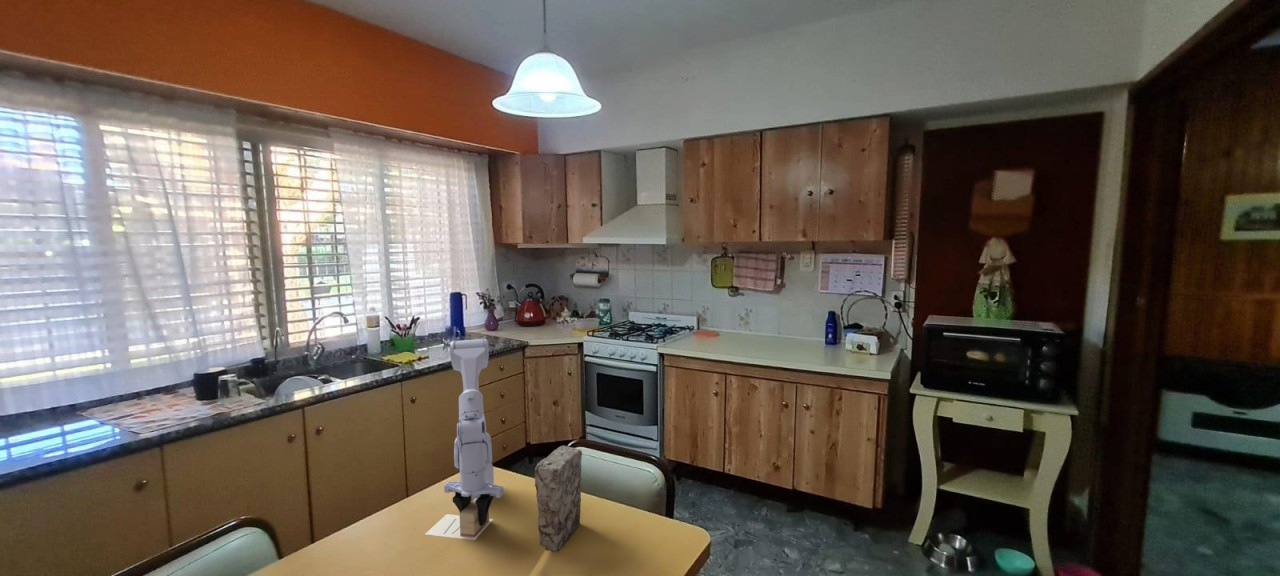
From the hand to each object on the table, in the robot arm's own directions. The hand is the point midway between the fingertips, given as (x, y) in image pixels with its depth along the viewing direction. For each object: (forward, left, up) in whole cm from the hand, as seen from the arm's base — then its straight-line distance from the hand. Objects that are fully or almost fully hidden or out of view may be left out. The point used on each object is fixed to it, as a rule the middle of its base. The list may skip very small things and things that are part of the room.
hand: (474, 522), depth 116 cm
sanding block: (0, 0, -1) cm, 1 cm away
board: (0, -4, -3) cm, 5 cm away
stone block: (-3, +21, -3) cm, 21 cm away
